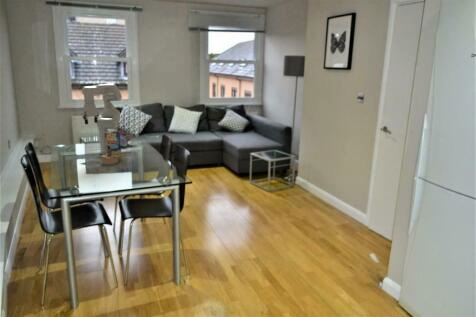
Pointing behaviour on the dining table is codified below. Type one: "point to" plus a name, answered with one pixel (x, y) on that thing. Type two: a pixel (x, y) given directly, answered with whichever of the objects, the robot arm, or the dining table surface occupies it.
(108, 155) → the lid
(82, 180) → the dining table surface
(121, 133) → the colourful crumpled piece
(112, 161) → the bowl
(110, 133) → the blue food box
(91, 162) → the mat
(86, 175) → the dining table surface
